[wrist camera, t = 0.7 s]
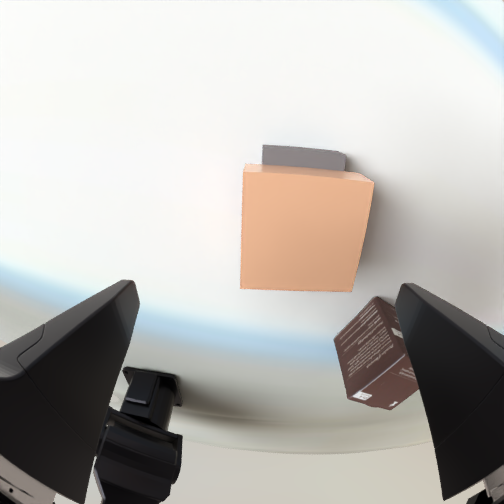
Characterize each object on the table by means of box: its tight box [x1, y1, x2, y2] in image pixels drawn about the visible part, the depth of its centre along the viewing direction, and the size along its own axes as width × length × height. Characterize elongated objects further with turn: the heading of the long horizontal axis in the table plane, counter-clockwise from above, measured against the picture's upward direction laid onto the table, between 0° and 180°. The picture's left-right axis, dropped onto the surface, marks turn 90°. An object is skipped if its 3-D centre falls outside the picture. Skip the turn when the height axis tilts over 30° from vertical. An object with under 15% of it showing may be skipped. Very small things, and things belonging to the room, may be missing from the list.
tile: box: [240, 164, 374, 292], centre depth 16 cm, size 7×7×2 cm
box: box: [334, 297, 419, 410], centre depth 21 cm, size 6×6×7 cm
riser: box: [262, 145, 346, 171], centre depth 18 cm, size 9×5×2 cm, turn 178°
